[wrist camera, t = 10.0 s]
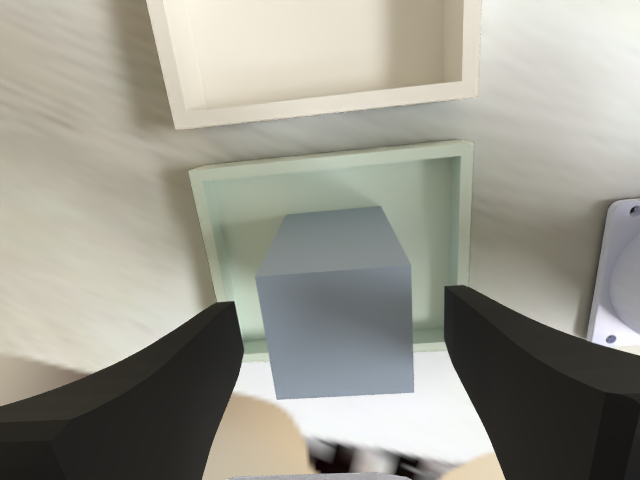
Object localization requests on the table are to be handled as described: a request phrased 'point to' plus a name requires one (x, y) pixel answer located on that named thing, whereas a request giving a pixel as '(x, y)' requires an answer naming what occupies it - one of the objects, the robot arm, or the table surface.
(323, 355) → the block
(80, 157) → the table surface
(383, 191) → the tray
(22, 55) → the table surface
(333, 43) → the white square bin
